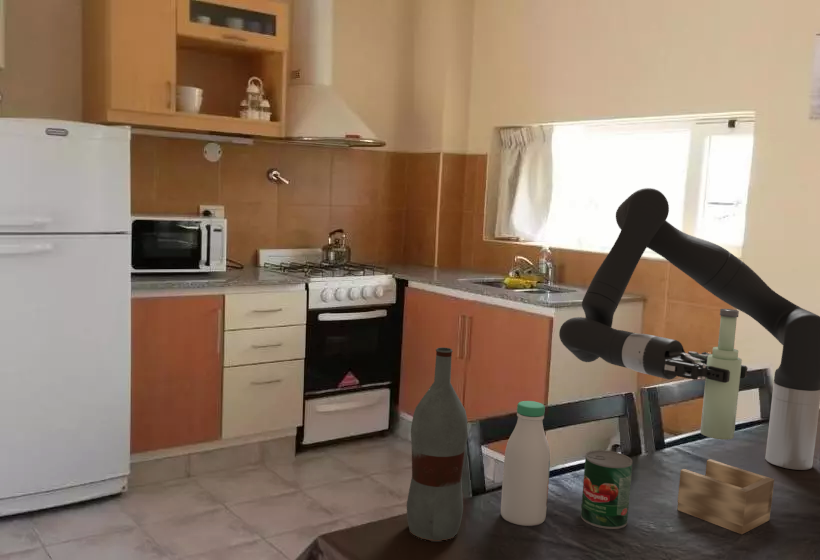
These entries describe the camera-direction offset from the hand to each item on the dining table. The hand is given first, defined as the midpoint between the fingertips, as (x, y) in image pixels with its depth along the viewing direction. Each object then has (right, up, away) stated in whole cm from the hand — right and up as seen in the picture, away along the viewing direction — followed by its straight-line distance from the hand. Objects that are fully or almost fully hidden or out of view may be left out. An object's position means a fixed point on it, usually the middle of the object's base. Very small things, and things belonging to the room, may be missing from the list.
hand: (737, 374), depth 137 cm
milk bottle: (-38, -24, -3) cm, 45 cm away
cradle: (-1, -25, +3) cm, 26 cm away
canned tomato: (-24, -25, -2) cm, 35 cm away
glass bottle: (-2, -11, +3) cm, 12 cm away
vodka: (-53, -24, -10) cm, 59 cm away
